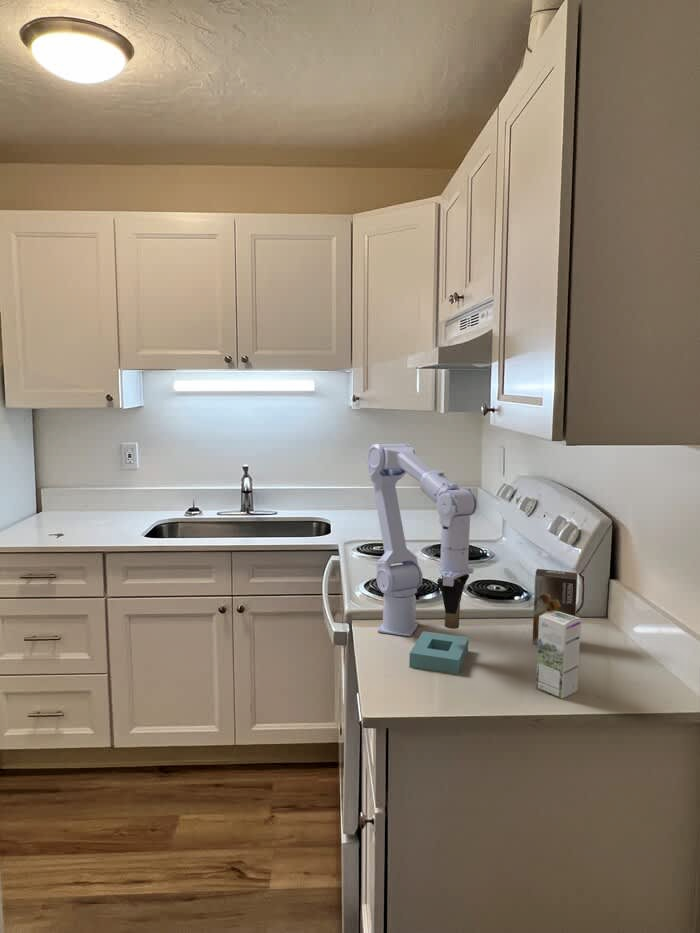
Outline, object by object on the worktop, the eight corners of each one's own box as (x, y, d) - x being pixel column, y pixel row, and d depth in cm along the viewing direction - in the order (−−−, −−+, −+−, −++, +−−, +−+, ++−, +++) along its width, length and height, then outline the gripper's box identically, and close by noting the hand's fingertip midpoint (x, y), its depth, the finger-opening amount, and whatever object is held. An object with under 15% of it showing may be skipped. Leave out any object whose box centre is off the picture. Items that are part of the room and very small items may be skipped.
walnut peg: (445, 623, 136) (447, 577, 135) (459, 624, 135) (461, 578, 134) (443, 627, 133) (445, 581, 132) (457, 629, 132) (459, 582, 131)
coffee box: (575, 640, 146) (579, 572, 144) (574, 651, 140) (578, 579, 138) (533, 634, 149) (537, 567, 148) (530, 644, 143) (534, 574, 142)
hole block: (422, 644, 142) (423, 631, 142) (467, 650, 139) (468, 637, 139) (409, 667, 130) (409, 652, 130) (458, 674, 127) (459, 660, 126)
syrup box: (578, 691, 121) (582, 616, 119) (561, 700, 117) (565, 623, 115) (551, 680, 125) (555, 608, 123) (534, 689, 121) (538, 615, 120)
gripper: (469, 556, 124) (466, 624, 126) (478, 541, 138) (475, 602, 139) (433, 553, 126) (431, 619, 128) (445, 538, 140) (443, 598, 142)
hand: (452, 610), depth 134 cm, fingers closed on walnut peg, 3 cm apart
